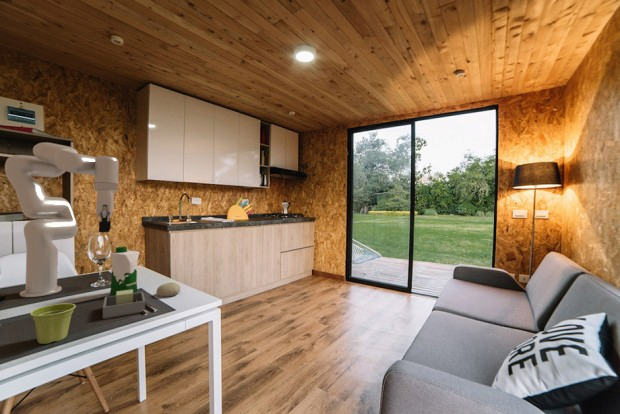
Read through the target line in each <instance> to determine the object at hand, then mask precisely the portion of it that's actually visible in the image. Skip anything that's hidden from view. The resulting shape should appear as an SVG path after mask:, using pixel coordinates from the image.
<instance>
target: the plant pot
mask: <svg viewBox="0 0 620 414" xmlns="http://www.w3.org/2000/svg"><path fill="white" fill-rule="evenodd" d="M76 307H77V306H76V304H74V303H70V302H69V303H67V302H66V303H57V304H50V305H45V306H41V307H39V308H36V309H34V310H32V311H31V312H30V316H31V317H32V320H33V321H34V327H35V334H36V340H37V343H38V344H41V345H42V344H43V345H44V344H51V343H53V342H59V341H62V340H64V339H65V338H66V337H68V332H69V328H70V323H71V318H72V314H73V313H74V309H76Z"/></svg>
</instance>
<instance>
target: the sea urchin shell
mask: <svg viewBox="0 0 620 414" xmlns="http://www.w3.org/2000/svg"><path fill="white" fill-rule="evenodd" d="M180 291H181V286H180V285H179V283H176V282H166V283H163V284H161V285H160V286H158V287H157V289H156V295H157V296H159V297H161V298H168V297H174V296H176V295H178V294H179V293H180Z"/></svg>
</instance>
